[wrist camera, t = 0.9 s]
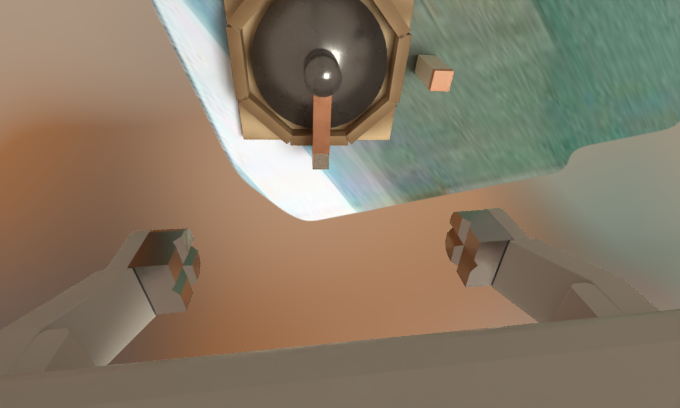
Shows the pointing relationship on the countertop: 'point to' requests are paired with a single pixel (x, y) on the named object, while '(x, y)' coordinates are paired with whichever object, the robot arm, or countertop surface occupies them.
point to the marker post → (434, 73)
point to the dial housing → (264, 123)
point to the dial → (319, 64)
